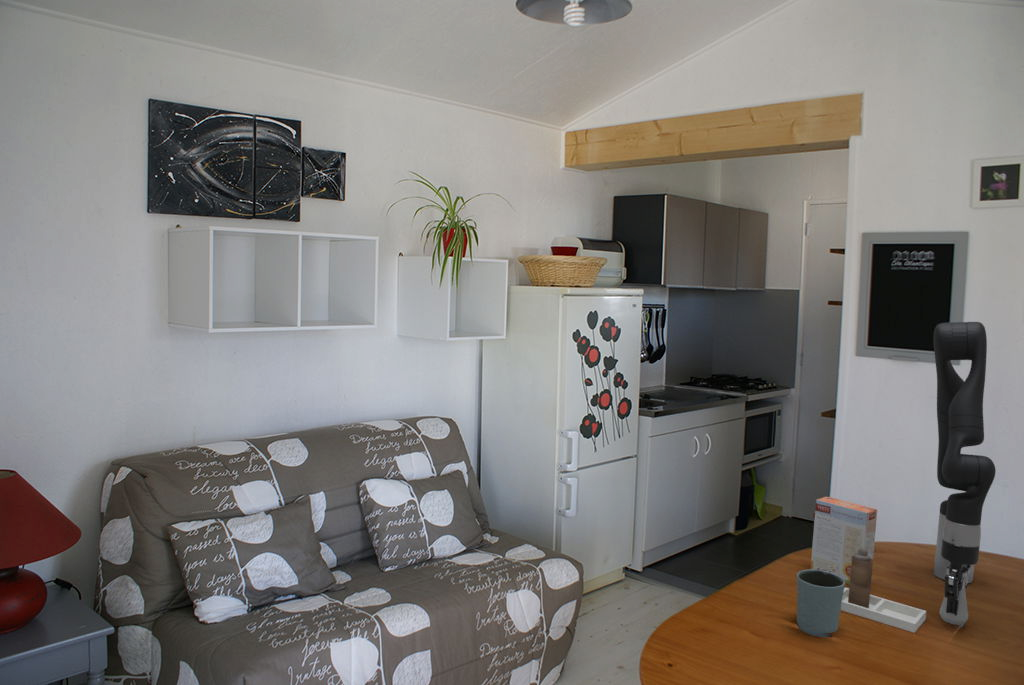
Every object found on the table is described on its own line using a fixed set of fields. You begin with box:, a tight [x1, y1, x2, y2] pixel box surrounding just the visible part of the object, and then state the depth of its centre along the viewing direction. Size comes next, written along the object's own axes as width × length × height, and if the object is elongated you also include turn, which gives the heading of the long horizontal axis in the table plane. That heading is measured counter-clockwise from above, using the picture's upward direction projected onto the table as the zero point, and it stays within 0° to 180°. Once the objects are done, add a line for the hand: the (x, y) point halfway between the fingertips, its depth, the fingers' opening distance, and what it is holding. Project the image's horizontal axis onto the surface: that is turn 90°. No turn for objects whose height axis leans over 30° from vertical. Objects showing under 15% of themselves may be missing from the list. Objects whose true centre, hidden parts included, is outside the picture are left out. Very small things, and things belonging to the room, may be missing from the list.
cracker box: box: [810, 496, 878, 586], centre depth 207 cm, size 14×6×21 cm, turn 40°
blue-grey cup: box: [796, 568, 846, 638], centre depth 178 cm, size 10×10×12 cm
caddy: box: [840, 587, 927, 634], centre depth 186 cm, size 10×18×3 cm, turn 49°
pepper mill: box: [848, 547, 874, 609], centre depth 189 cm, size 5×5×15 cm
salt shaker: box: [939, 574, 969, 629], centre depth 184 cm, size 6×6×13 cm
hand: (953, 611), depth 184 cm, fingers open, 4 cm apart
